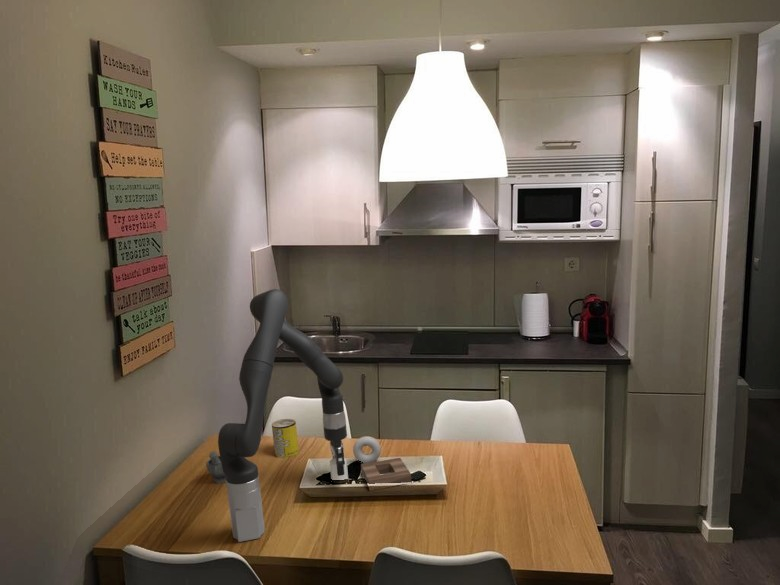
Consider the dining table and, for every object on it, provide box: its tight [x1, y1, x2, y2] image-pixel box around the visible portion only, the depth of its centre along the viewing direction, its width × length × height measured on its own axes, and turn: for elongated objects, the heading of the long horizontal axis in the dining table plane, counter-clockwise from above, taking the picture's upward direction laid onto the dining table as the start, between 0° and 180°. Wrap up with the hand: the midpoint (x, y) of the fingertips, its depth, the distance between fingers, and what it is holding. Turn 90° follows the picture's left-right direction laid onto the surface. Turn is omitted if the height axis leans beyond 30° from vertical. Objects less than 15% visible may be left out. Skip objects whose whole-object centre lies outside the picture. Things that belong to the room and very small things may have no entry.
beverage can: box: [271, 418, 300, 459], centre depth 254 cm, size 9×9×12 cm
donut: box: [352, 436, 382, 464], centre depth 239 cm, size 10×4×10 cm, turn 89°
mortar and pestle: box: [205, 450, 226, 484], centre depth 235 cm, size 11×9×12 cm
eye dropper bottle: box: [329, 457, 349, 480], centre depth 226 cm, size 4×6×12 cm
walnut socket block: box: [360, 457, 412, 484], centre depth 226 cm, size 14×14×4 cm
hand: (338, 470), depth 226 cm, fingers open, 8 cm apart
